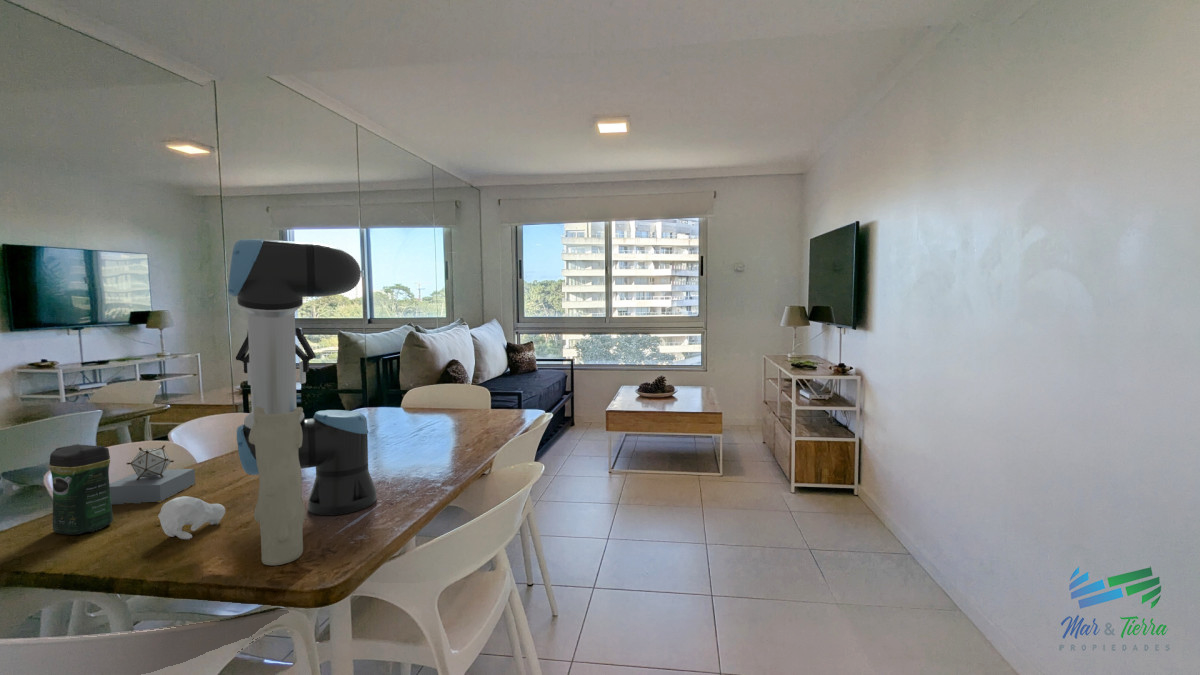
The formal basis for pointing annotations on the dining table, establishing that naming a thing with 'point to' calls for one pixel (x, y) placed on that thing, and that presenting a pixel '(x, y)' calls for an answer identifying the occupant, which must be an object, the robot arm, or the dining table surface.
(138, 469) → the game die
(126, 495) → the grey square block
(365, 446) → the robot arm
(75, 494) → the coffee jar
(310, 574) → the dining table surface
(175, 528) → the white animal figurine
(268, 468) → the vase
